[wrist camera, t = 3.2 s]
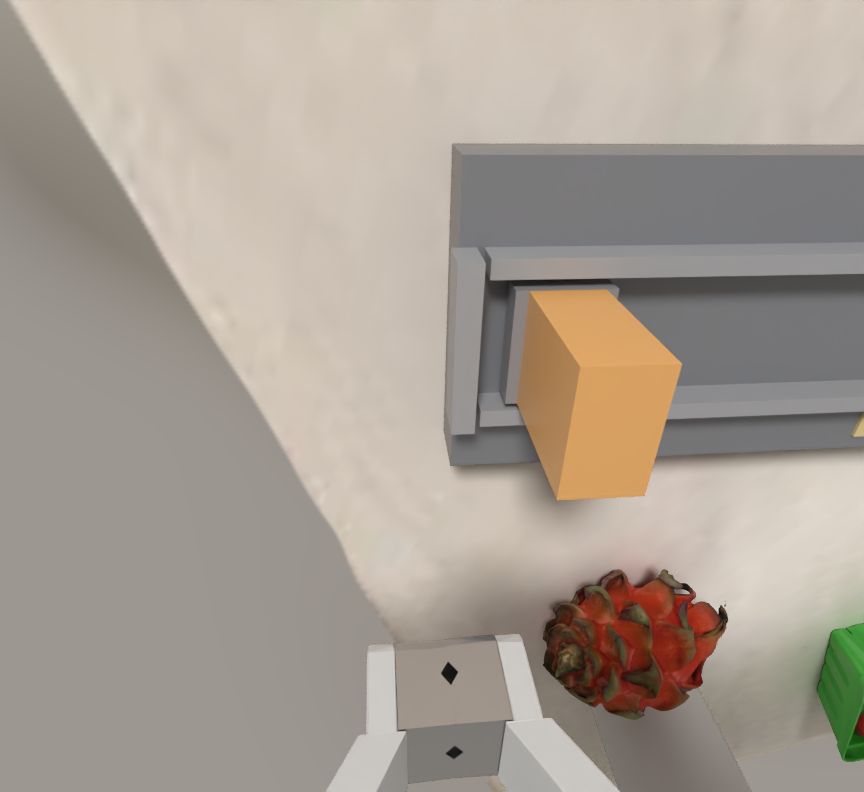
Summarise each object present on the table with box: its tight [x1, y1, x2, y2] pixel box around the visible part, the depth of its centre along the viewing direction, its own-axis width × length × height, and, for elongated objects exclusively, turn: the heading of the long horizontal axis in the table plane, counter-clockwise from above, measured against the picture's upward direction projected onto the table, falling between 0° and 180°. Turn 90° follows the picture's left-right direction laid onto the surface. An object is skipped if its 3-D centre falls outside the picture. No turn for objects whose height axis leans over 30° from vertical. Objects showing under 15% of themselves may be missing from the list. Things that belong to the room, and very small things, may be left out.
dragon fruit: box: [543, 569, 728, 720], centre depth 35 cm, size 8×8×12 cm
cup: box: [591, 688, 752, 792], centre depth 38 cm, size 8×8×12 cm
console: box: [444, 144, 864, 466], centre depth 25 cm, size 14×29×5 cm, turn 89°
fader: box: [499, 278, 682, 500], centre depth 20 cm, size 5×4×7 cm
